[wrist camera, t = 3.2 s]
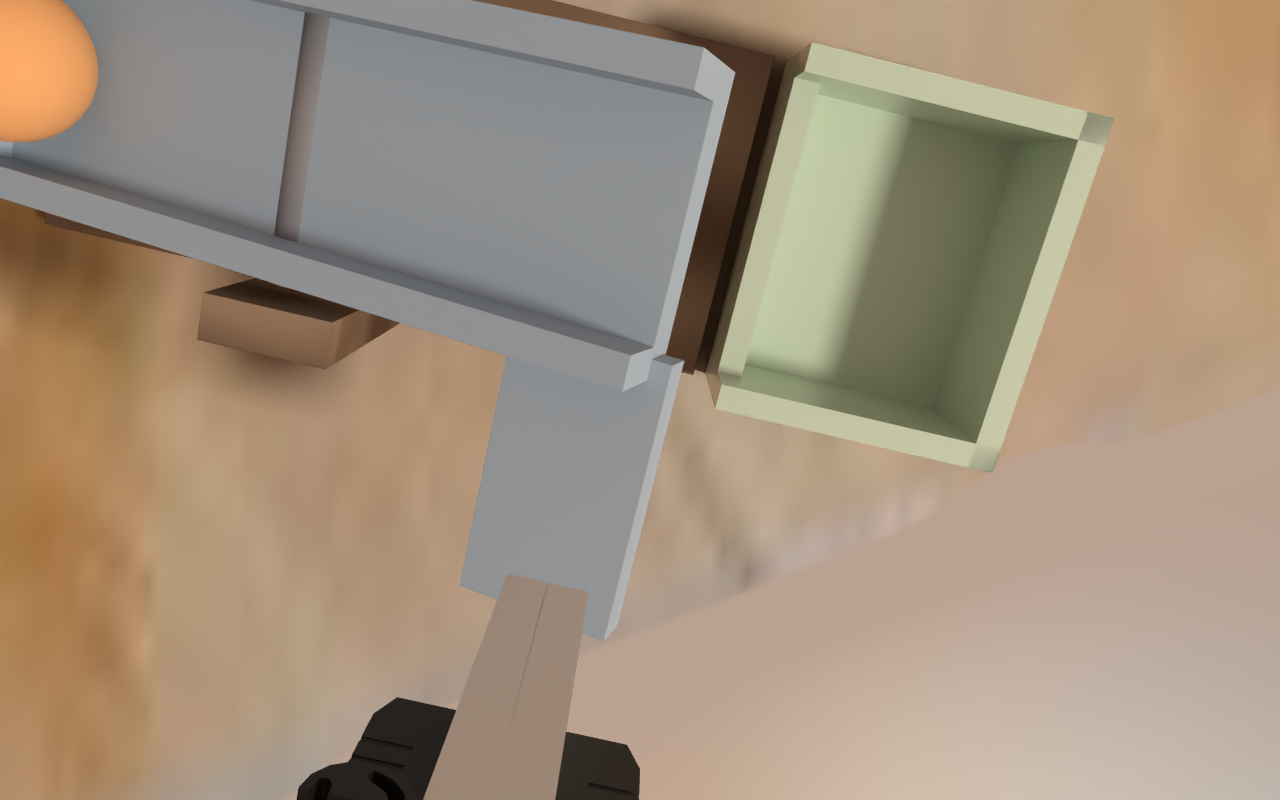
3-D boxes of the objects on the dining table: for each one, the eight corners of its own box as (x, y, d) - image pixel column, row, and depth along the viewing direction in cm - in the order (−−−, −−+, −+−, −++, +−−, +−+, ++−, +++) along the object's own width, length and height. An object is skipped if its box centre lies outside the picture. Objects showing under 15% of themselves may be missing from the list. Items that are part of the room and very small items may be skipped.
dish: (785, 62, 31) (811, 42, 26) (1040, 126, 32) (1114, 118, 27) (705, 373, 34) (715, 408, 29) (941, 428, 34) (992, 473, 29)
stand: (87, -113, 30) (-201, -258, 20) (771, 59, 31) (831, 5, 21) (59, 222, 33) (-210, 246, 23) (692, 370, 34) (710, 457, 24)
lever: (51, -86, 26) (-116, -147, 22) (762, 58, 20) (717, 14, 16) (15, 391, 29) (-136, 415, 25) (620, 622, 24) (552, 699, 20)
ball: (7, -25, 25) (-144, -69, 21) (142, 7, 24) (11, -33, 20) (-3, 129, 25) (-150, 114, 22) (126, 162, 25) (-1, 153, 21)
